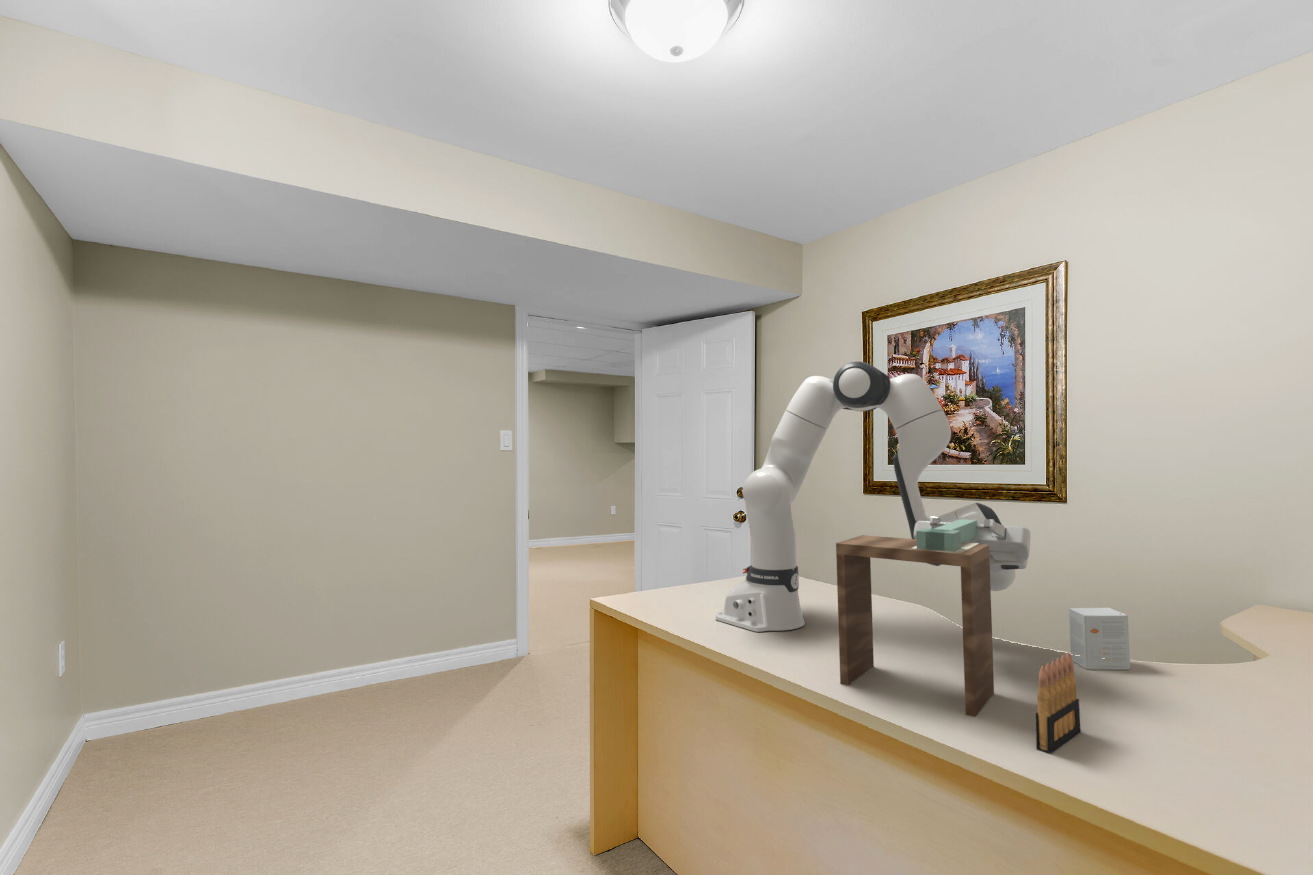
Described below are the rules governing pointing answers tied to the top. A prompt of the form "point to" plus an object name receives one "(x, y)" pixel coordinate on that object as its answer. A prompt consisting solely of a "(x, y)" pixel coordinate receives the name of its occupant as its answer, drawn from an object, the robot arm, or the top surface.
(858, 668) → the walnut shelf
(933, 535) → the sage lever
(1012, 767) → the top surface
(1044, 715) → the ammunition clip
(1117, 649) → the small box
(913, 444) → the robot arm
